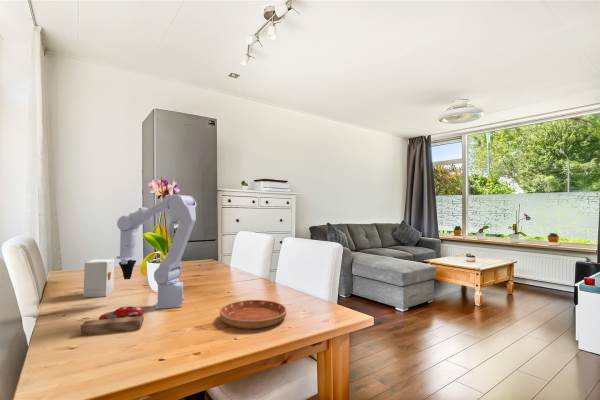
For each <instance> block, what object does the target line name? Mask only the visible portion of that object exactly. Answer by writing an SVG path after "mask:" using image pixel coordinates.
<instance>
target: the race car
mask: <svg viewBox="0 0 600 400" xmlns="http://www.w3.org/2000/svg"><path fill="white" fill-rule="evenodd" d="M136 316H144V311H143V308H142V307H137V306H121V307H118V308H117V309H115V310H113V311H109V312H106V313H103V314H101V315H100V316H99V318H98V320H103V319H114V318H125V317H136Z"/></svg>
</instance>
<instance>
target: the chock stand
mask: <svg viewBox="0 0 600 400" xmlns="http://www.w3.org/2000/svg"><path fill="white" fill-rule="evenodd" d="M144 319H145V318H144V315H143V316H136V317H125V318H114V319H103V320H99V319H93V320H85V321H84V322H82V324H81V325H80V333H79V335H80V337H81V336H84V337H85V336H93V335H101V334H112V333H113V334H114V333H121V332H130V331H131V332H132V331H139V330H141V329H142V326H143V323H144Z"/></svg>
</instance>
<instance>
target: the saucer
mask: <svg viewBox="0 0 600 400" xmlns="http://www.w3.org/2000/svg"><path fill="white" fill-rule="evenodd" d="M219 314H220V315H219V317H220V319H221V321H223V322H224V323H226V324H227V325H229V326H231V327H235V328H238V329H239V328H240V329H246V328H247V330H249V329H253V330H254V328H255V329H263V328H267V327H271V325H272V326H273V325H277V324H278V323H279V322H280V321H281V322H282V321H283V320H284V319H285V318H286V316H287V308H286V307H285V305H283V304H281V303H279V302H276V301H272V300H265V299H249V300H247V299H245V300H239V301H234V302H230V303H228V304H226V305H224V306H223V307H221V309H220V310H219Z"/></svg>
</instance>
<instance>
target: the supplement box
mask: <svg viewBox="0 0 600 400" xmlns="http://www.w3.org/2000/svg"><path fill="white" fill-rule="evenodd" d="M83 275H84V277H83V294H82V295H83V298H99V297H100V298H101V297H102V298H103V297H107V296H109V295H110V294H112V293H113V292H114V288H115V287H114V283H115V258H97V259H96V258H95V259H91V260H88V261H85V262H84V274H83Z"/></svg>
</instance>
